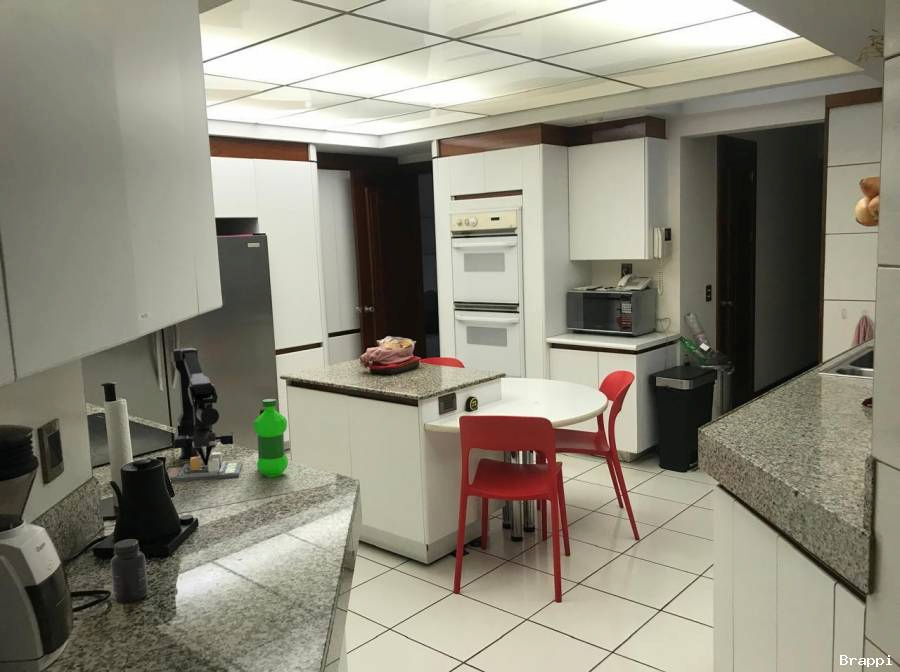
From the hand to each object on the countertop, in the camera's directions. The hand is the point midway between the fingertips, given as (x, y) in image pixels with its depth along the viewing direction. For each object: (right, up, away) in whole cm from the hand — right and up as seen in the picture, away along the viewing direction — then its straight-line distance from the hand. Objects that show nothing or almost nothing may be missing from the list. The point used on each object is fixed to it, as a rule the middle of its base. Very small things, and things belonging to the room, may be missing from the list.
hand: (206, 465), depth 241 cm
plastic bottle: (+23, -3, -2) cm, 23 cm away
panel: (-1, -3, 0) cm, 3 cm away
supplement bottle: (+13, -13, -85) cm, 87 cm away
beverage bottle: (+19, -2, +7) cm, 20 cm away
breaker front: (+4, -2, -3) cm, 5 cm away
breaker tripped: (-3, -2, -1) cm, 3 cm away
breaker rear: (+2, -1, +4) cm, 5 cm away
